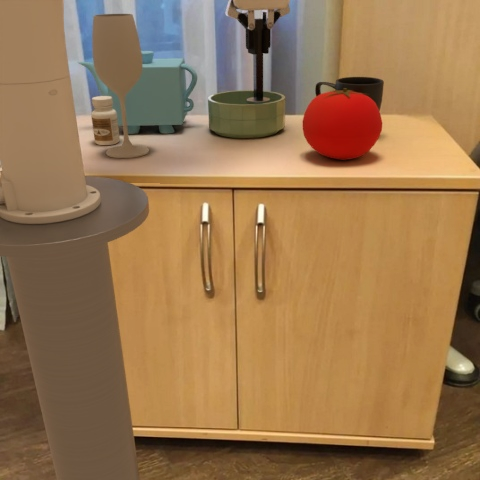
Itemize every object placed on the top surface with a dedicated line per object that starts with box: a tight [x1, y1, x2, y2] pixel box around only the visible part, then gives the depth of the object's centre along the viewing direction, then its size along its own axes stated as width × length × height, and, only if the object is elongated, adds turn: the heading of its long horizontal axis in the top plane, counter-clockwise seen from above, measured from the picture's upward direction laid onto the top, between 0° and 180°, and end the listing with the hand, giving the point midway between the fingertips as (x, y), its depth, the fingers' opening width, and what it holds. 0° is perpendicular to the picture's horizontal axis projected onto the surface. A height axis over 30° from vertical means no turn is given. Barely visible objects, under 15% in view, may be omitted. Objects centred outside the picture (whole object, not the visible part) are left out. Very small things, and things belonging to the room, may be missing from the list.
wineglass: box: [91, 13, 150, 159], centre depth 97 cm, size 8×8×21 cm
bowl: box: [207, 89, 286, 139], centre depth 113 cm, size 14×14×6 cm
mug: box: [314, 76, 385, 113], centre depth 107 cm, size 8×12×10 cm
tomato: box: [301, 88, 383, 161], centre depth 95 cm, size 11×12×10 cm
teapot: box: [77, 50, 198, 135], centre depth 114 cm, size 22×11×14 cm, turn 89°
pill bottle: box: [90, 95, 121, 146], centre depth 106 cm, size 4×4×8 cm
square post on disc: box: [247, 18, 270, 104], centre depth 110 cm, size 4×4×16 cm
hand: (258, 52), depth 108 cm, fingers closed on square post on disc, 1 cm apart
